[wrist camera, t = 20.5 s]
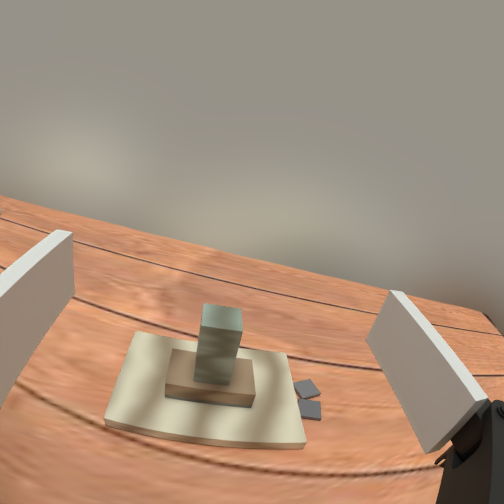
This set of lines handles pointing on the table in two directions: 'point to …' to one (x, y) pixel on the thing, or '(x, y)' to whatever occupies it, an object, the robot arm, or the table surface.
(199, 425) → the board
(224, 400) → the block
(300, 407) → the mark tile
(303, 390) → the mark tile
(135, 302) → the table surface
